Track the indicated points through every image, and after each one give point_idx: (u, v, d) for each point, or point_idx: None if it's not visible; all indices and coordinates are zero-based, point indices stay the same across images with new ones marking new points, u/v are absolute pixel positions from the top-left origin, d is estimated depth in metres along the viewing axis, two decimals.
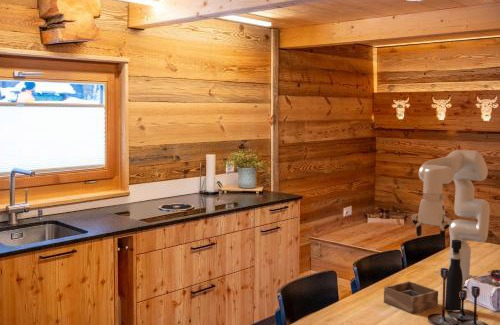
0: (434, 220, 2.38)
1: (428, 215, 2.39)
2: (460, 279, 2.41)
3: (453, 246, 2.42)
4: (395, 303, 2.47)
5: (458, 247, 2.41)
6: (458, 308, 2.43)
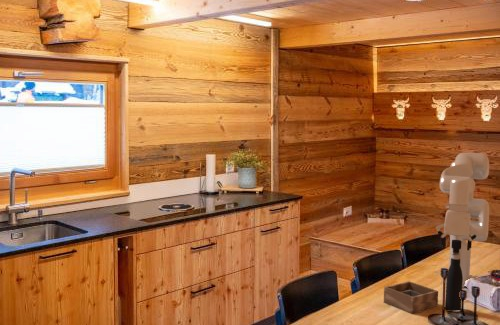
0: None
1: None
2: (460, 279, 2.41)
3: (453, 246, 2.42)
4: (395, 303, 2.47)
5: (458, 247, 2.41)
6: (458, 308, 2.43)
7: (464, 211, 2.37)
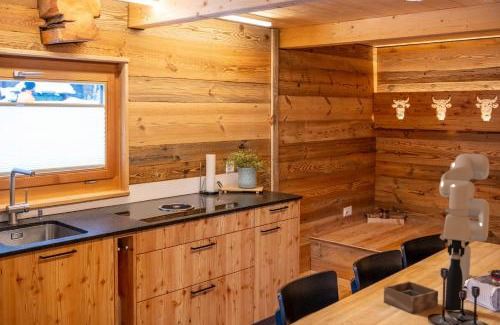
0: None
1: None
2: (460, 279, 2.41)
3: (453, 246, 2.42)
4: (395, 303, 2.47)
5: (458, 247, 2.41)
6: (458, 308, 2.43)
7: (464, 216, 2.38)
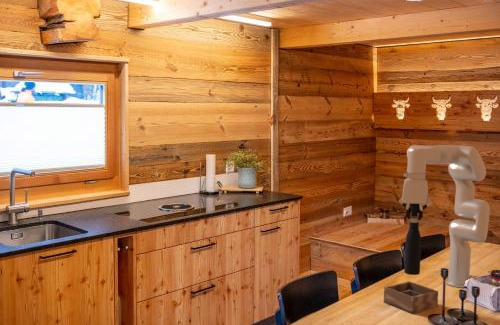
0: None
1: None
2: (418, 242, 2.45)
3: (411, 210, 2.45)
4: (395, 303, 2.47)
5: (416, 211, 2.44)
6: (417, 271, 2.46)
7: (421, 179, 2.41)
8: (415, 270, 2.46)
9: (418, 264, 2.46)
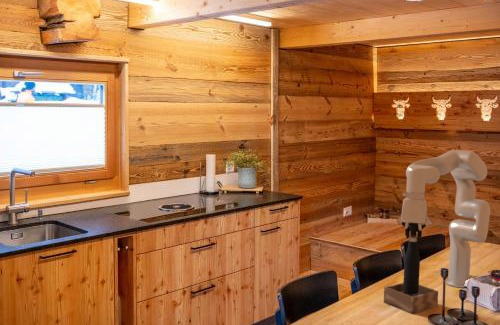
0: None
1: None
2: (417, 261, 2.46)
3: (410, 229, 2.46)
4: (395, 303, 2.47)
5: (415, 230, 2.45)
6: (415, 290, 2.47)
7: (420, 199, 2.42)
8: (414, 289, 2.47)
9: (417, 283, 2.47)
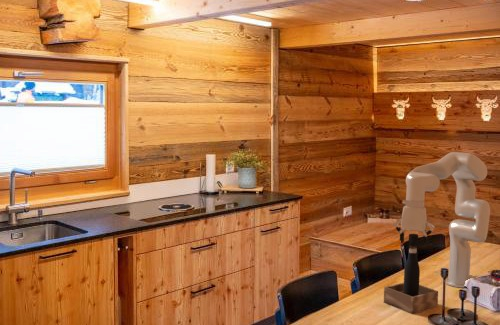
0: None
1: None
2: (417, 272, 2.46)
3: (410, 240, 2.46)
4: (395, 303, 2.47)
5: (415, 241, 2.46)
6: None
7: (420, 207, 2.43)
8: None
9: (417, 294, 2.48)
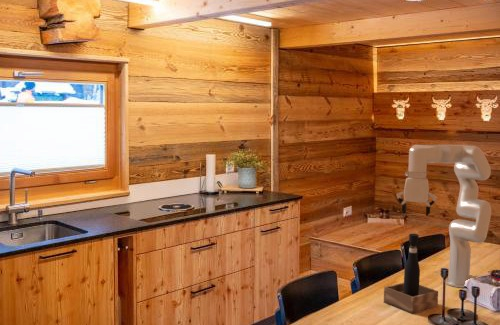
0: None
1: None
2: (417, 272, 2.47)
3: (410, 240, 2.47)
4: (395, 303, 2.47)
5: (415, 241, 2.46)
6: None
7: (422, 178, 2.47)
8: None
9: (417, 294, 2.48)
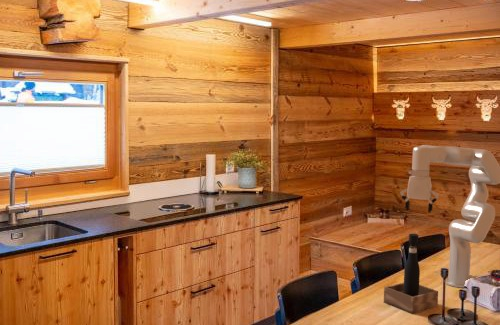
0: None
1: None
2: (417, 272, 2.46)
3: (410, 240, 2.47)
4: (395, 303, 2.47)
5: (415, 241, 2.46)
6: None
7: (425, 176, 2.57)
8: None
9: (417, 294, 2.48)
